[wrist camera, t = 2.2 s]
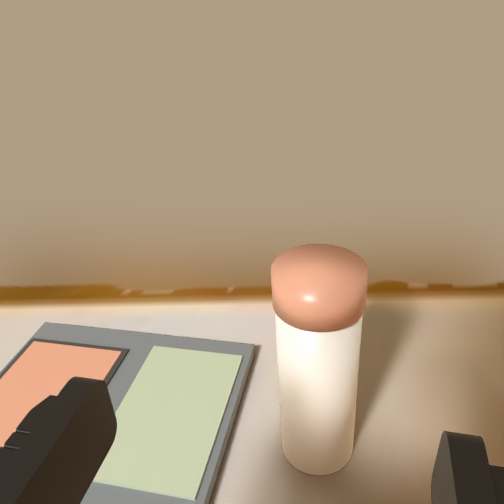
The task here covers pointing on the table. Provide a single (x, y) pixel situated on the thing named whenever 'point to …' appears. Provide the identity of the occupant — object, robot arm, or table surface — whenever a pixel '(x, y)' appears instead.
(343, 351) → the marker
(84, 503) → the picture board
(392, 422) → the table surface
